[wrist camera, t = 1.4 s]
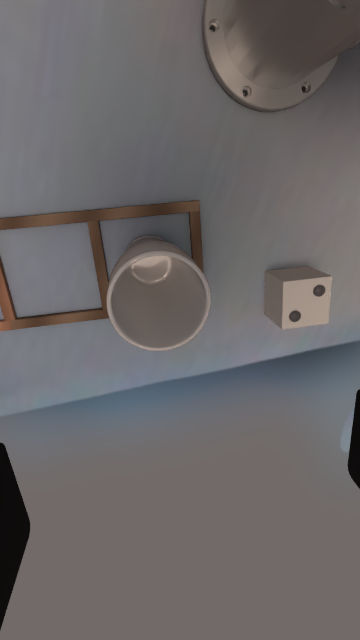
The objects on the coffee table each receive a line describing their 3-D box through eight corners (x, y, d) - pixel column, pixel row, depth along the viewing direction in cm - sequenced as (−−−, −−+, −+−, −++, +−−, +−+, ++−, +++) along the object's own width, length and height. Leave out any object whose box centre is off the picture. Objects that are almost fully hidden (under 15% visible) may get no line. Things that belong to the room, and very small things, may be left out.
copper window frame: (197, 200, 33) (199, 200, 33) (204, 304, 37) (205, 306, 37) (-136, 230, 31) (-141, 231, 30) (-91, 340, 35) (-95, 342, 34)
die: (307, 266, 38) (333, 276, 33) (305, 308, 39) (329, 323, 35) (264, 271, 37) (283, 282, 32) (264, 313, 39) (282, 330, 34)
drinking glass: (123, 219, 33) (116, 237, 19) (188, 236, 35) (226, 264, 21) (110, 284, 35) (95, 342, 21) (172, 298, 37) (196, 360, 23)
